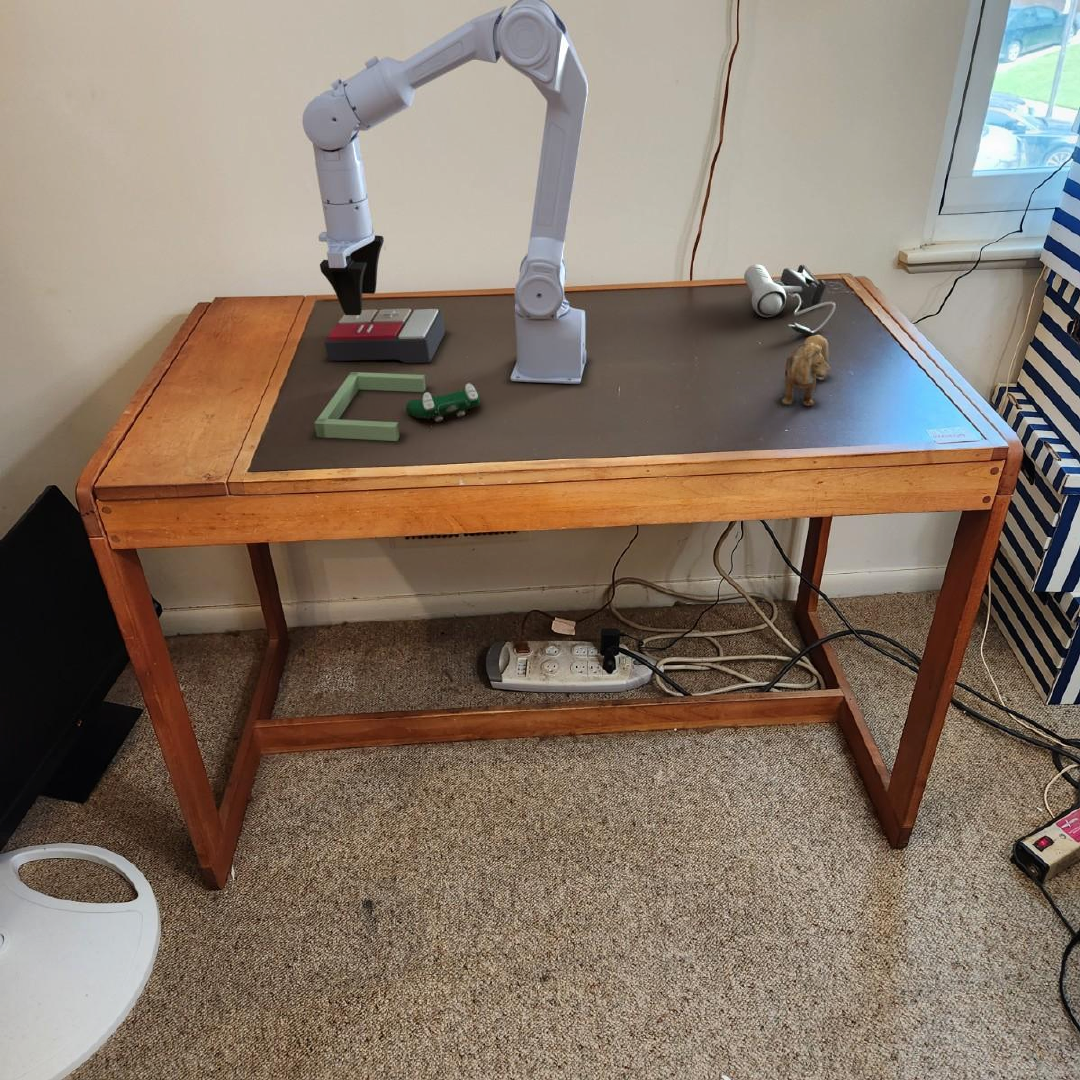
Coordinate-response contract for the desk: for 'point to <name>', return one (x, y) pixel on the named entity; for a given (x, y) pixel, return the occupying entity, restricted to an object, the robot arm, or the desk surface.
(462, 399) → the gaming controller
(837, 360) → the desk surface
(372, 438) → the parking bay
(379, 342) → the calculator
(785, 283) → the clip-on lamp
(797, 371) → the lion figurine
